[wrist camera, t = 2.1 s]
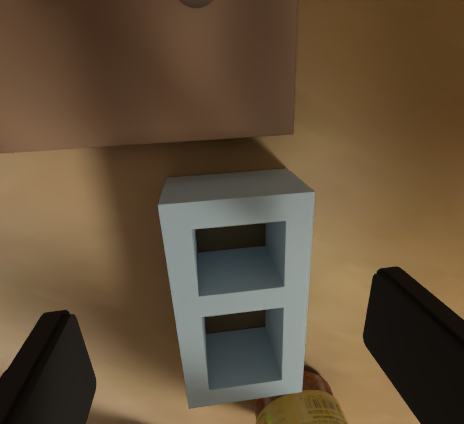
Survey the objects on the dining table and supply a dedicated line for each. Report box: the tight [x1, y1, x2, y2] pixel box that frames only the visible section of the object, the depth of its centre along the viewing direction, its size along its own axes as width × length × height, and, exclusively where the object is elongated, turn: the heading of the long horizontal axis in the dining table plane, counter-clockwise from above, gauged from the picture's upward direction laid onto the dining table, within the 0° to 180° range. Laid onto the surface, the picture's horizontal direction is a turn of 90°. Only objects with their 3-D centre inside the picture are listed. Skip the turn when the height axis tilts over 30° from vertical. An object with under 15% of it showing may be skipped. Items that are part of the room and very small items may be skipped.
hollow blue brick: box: [158, 168, 315, 409], centre depth 16 cm, size 12×6×4 cm, turn 2°
